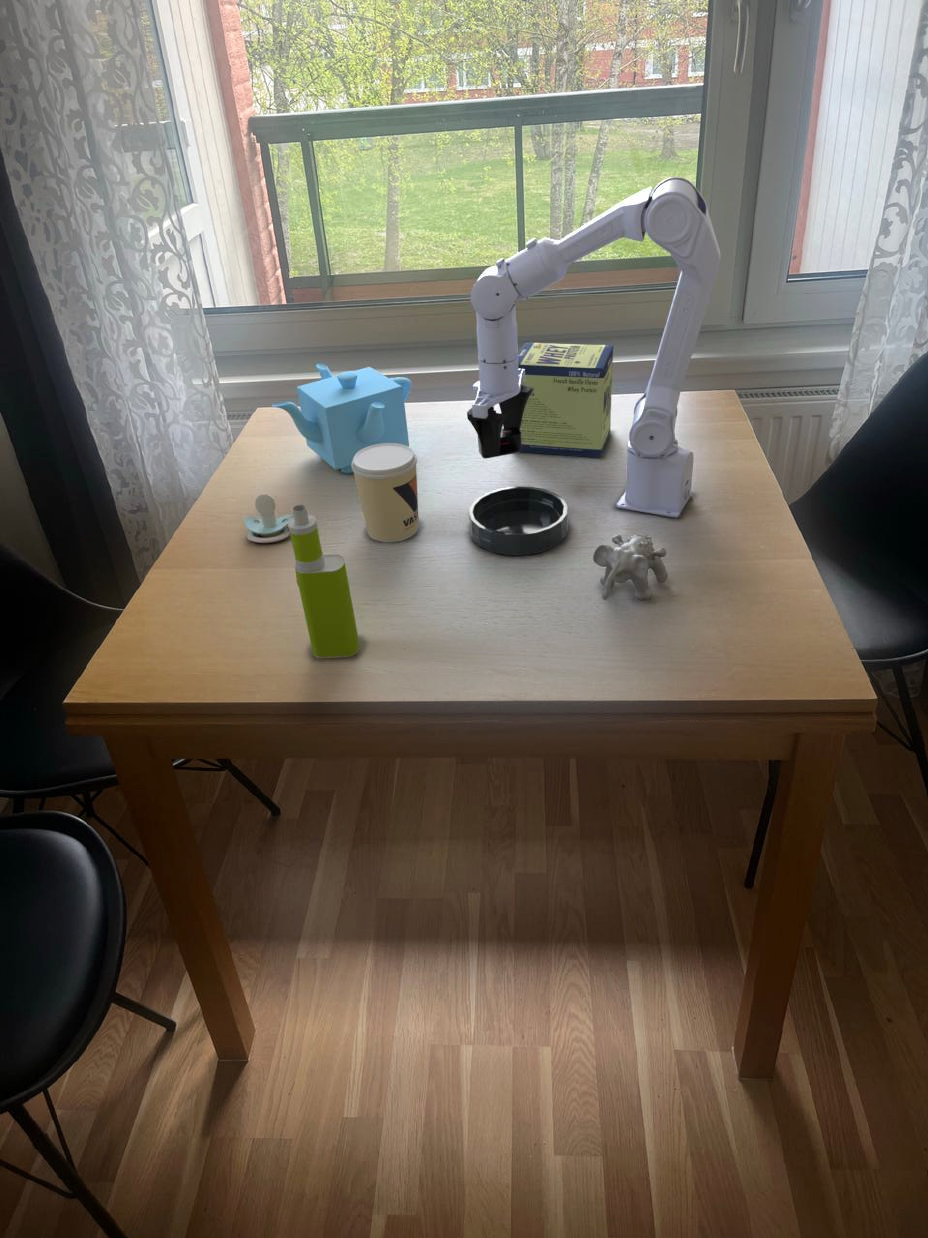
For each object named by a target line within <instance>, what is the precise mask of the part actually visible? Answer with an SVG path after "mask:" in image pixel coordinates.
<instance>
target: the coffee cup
mask: <svg viewBox="0 0 928 1238" xmlns="http://www.w3.org/2000/svg"><path fill="white" fill-rule="evenodd" d="M417 462H418V458H417V454H416V453H415V452H414V450H413V449H412V448H411V447H410V446H409V447H408V446H405V445H402V444H396V443H383V444H376V445H372V446H369V447H366V448H364V449H362V450H360V451H359V452H357V453H356V454H355V456H354V458H353V461H352V470H353V472H352V473H353V475H354V481H355V485H356V488H357V494H358V498H359V502H360V506H361V511H362V515H363V519H364V523H365V528H366V531H367V534H368V536H369V537H370V538H371V539H372V540H375V541H377V542H380V543H381V542H382V543H397V542H402V541H404V540H407V539H410V538H411V537H413V536H414V535H415V534H416V533H417V532H418V530H419V497H418V496H419V494H418V474H417V471H418V470H417Z"/></svg>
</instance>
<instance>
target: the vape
mask: <svg viewBox="0 0 928 1238" xmlns="http://www.w3.org/2000/svg"><path fill="white" fill-rule="evenodd" d="M291 511H292V515H293V518H292V519H291V520H289V522H288V525H287V527H288V531H289V532H290V534H289V536H290V539H291V544H292V549H293V554H294V561H295V563H294V571H295V577H296V579H295V581H296V584H297V587H298V590H299V594H300V599H301V603H302V608H303V614H304V618H305V622H306V626H307V627H306V628H307V632H308V636H309V641H310V645H311V650H312V654H313V656H314V658H316V659H335V658H350V657H353V656H354V655H356V654H357V653H358V651H360V639H359V635H358V629H357V623H356V616H355V611H354V605H353V601H352V594H351V588H350V583H349V577H348V572H347V565H346V559H345V557H344V555H342V554H340V553H325V554H324V552H323V550H322V544H321V539H320V533H319V529H318V521H317V518H316V517H315V516H314V515H312V514H309V513H308V507H307V506H306V505H305V504H297V505H294V506H293V507H292V508H291Z"/></svg>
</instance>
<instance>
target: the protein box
mask: <svg viewBox="0 0 928 1238" xmlns="http://www.w3.org/2000/svg"><path fill="white" fill-rule="evenodd" d="M613 362H614V345H613V344H579V343H578V344H577V343H575V344H574V343H551V342H550V343H547V342H525V343H524V344H523V345H522V347H521V348H520V350H519V351H518V369H525V382H524V383H523V384H522V385H524V386H530V387H531V389H532V392H531V394H530V396H529V398H528V400H527V403H526V406H525V409H524V412H523V417H522V422H521V427H520V431H521V439H522V450H521V452H520V453H531V454H545V455H558V456H571V457H573V456H574V457H585V458H598V459H599V458H601V457H602V456H603V453H604V450H605V448H606V445H607V442H608V439H609V437H610V435H611V424H612V423H611V422H612V396H613V395H612V392H613V391H612V390H613V389H612V388H613V367H614V363H613Z"/></svg>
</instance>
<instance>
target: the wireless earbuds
mask: <svg viewBox="0 0 928 1238" xmlns="http://www.w3.org/2000/svg"><path fill="white" fill-rule="evenodd" d="M477 442H478V443H477V445H478V447H477V448H478V453H479V454H480V456H481V457H482V458H483V459H484V460H485V459H487V460H488V459H492V458H495V457H494V456H488V455H485V454H484V452H483V449H482V446H481V443H480V440H479V437H478V436H477ZM521 450H522V439H521V431H520V430H519V429H518V428H517V427H511V428H505V429H504V428H502V431H501V440H500V451H499V455H498V456H497V457H501V456H508V455H514V454H519V453H522V452H521ZM497 457H496V458H497Z"/></svg>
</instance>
